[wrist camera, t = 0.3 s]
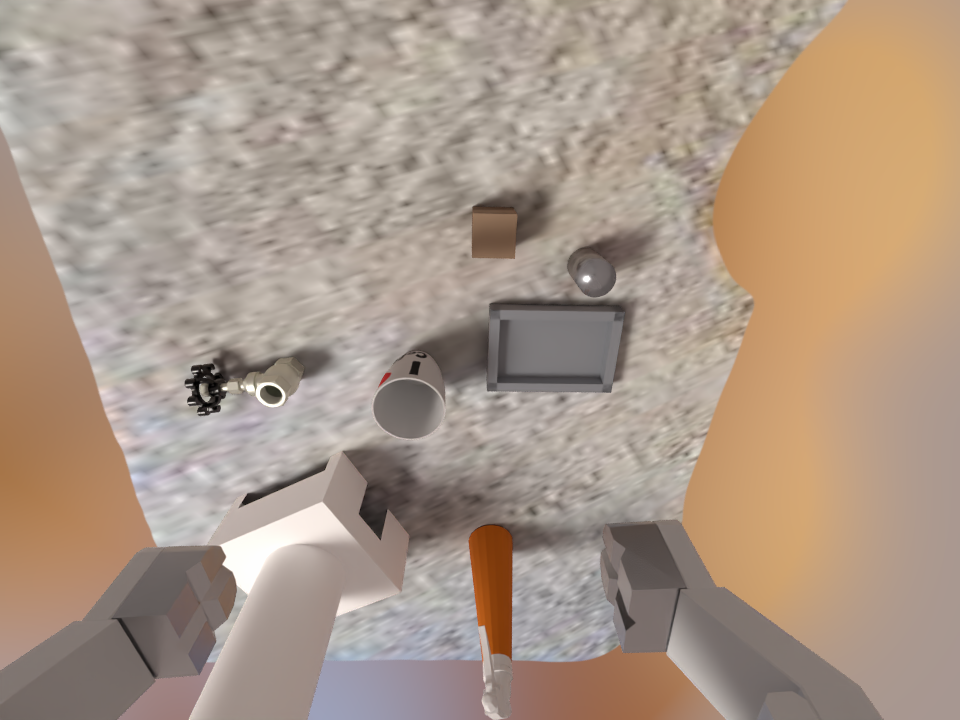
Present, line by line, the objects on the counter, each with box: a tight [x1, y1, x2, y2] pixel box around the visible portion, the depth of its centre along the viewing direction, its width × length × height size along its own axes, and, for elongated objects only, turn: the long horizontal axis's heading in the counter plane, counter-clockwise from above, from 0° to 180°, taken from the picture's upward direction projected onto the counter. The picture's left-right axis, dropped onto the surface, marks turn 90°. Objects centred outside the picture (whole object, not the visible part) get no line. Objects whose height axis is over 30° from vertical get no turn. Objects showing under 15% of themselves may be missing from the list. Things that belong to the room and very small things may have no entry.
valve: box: [185, 357, 305, 416], centre depth 56 cm, size 7×7×12 cm
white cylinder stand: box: [189, 451, 410, 720], centre depth 57 cm, size 19×19×30 cm
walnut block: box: [472, 207, 517, 259], centre depth 49 cm, size 4×4×5 cm
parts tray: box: [487, 304, 625, 393], centre depth 57 cm, size 11×16×2 cm
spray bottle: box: [469, 525, 513, 720], centre depth 60 cm, size 7×11×26 cm, turn 16°
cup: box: [372, 351, 446, 440], centre depth 55 cm, size 8×8×10 cm
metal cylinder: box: [567, 248, 616, 297], centre depth 51 cm, size 4×4×6 cm
